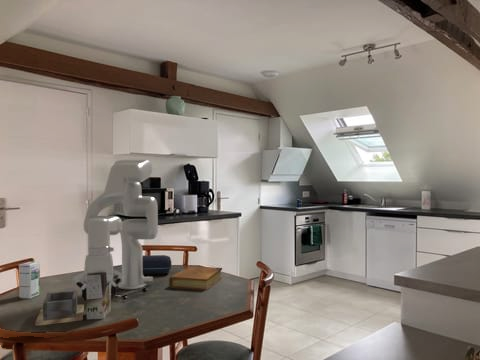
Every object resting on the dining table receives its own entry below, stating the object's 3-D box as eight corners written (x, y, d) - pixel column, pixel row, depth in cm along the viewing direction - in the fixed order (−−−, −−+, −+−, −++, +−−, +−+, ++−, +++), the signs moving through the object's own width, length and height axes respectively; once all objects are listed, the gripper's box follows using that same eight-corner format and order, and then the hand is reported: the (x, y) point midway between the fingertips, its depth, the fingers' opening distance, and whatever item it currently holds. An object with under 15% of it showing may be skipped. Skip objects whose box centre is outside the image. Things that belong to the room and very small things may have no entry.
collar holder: (84, 307, 148) (83, 288, 149) (82, 320, 134) (82, 299, 135) (41, 312, 143) (41, 293, 143) (35, 326, 129) (35, 304, 129)
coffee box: (104, 319, 135) (104, 274, 136) (86, 319, 135) (86, 274, 135) (111, 310, 145) (110, 268, 145) (93, 311, 144) (93, 269, 144)
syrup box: (30, 298, 160) (30, 264, 160) (18, 298, 161) (18, 264, 161) (40, 294, 166) (40, 261, 166) (28, 294, 167) (28, 261, 167)
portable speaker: (172, 271, 208) (172, 253, 209) (170, 275, 199) (170, 256, 199) (126, 272, 207) (126, 254, 207) (121, 277, 197) (121, 257, 197)
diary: (188, 277, 198) (188, 266, 198) (222, 279, 193) (222, 267, 193) (169, 288, 176) (169, 276, 176) (206, 291, 171) (206, 278, 171)
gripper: (122, 248, 146) (122, 292, 146) (73, 251, 140) (74, 297, 140) (123, 251, 139) (124, 298, 139) (72, 255, 133) (72, 303, 133)
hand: (99, 297), depth 140 cm, fingers open, 9 cm apart
